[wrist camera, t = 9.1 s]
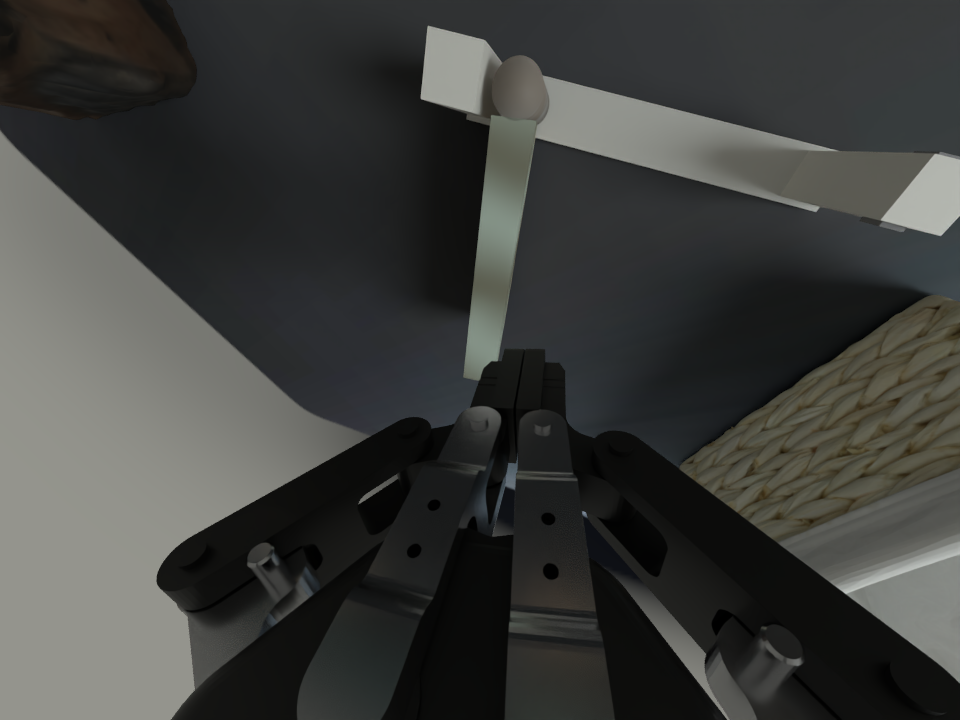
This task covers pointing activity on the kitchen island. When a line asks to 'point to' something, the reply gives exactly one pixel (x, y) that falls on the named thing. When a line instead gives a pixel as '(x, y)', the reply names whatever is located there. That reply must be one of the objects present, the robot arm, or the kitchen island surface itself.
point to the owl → (91, 56)
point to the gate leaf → (503, 203)
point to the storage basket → (864, 474)
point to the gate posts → (708, 145)
